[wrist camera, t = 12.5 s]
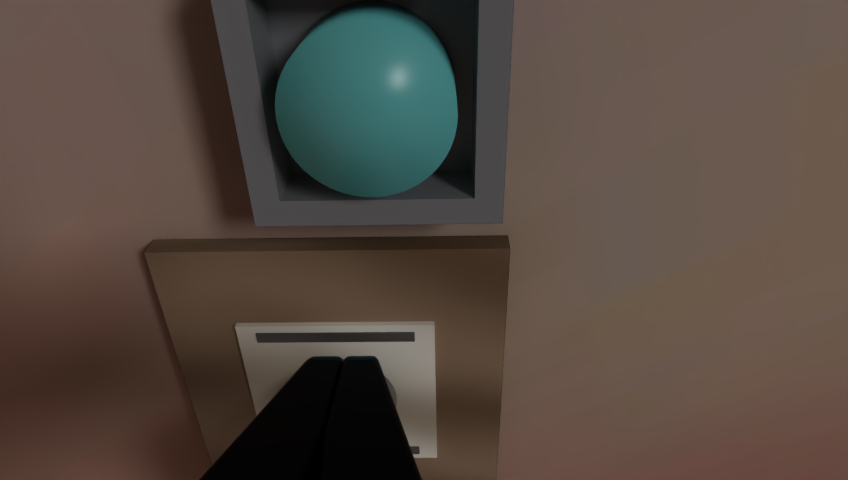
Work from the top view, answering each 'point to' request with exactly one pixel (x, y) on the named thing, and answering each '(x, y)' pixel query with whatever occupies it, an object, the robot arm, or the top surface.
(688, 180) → the top surface
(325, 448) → the robot arm
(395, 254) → the drawing board
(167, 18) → the top surface
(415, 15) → the button
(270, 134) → the button housing
